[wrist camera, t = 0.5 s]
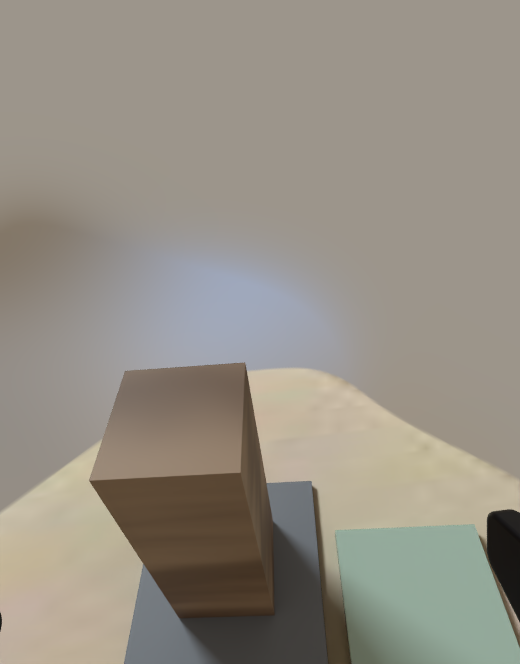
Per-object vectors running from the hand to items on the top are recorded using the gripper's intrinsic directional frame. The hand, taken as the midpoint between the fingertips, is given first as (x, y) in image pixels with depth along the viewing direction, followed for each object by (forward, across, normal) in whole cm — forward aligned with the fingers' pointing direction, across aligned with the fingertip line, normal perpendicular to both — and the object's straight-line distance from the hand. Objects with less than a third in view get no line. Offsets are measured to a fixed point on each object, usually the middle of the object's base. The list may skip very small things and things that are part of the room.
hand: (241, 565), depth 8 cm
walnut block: (+12, +2, +11) cm, 16 cm away
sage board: (+10, -6, +12) cm, 17 cm away
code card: (+12, +2, +11) cm, 17 cm away
